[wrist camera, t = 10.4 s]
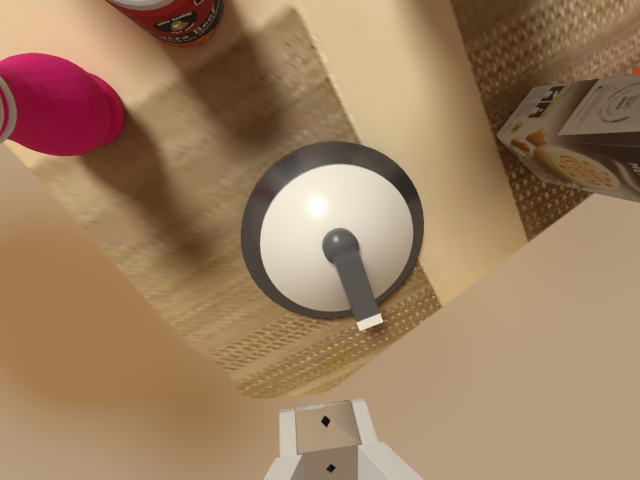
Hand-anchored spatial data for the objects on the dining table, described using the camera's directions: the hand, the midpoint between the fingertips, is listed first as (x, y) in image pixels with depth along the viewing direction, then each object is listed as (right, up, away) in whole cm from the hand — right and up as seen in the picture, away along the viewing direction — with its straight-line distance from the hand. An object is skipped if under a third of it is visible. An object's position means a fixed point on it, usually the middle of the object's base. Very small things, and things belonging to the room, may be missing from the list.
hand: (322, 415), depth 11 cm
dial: (+2, +6, +23) cm, 24 cm away
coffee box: (+24, +18, +25) cm, 39 cm away
